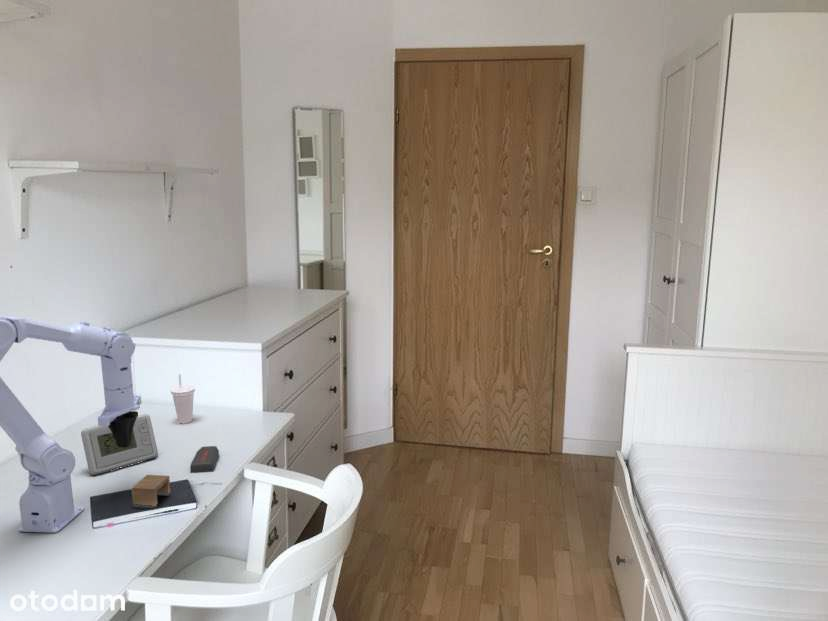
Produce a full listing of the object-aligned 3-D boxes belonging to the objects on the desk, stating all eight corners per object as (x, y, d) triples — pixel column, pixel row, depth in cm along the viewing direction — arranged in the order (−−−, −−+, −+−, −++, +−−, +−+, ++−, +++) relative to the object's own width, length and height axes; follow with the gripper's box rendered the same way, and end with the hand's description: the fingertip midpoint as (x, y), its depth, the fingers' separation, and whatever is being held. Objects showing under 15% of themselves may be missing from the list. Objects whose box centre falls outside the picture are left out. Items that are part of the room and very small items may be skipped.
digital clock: (87, 478, 150) (82, 434, 148) (83, 465, 158) (78, 423, 156) (161, 462, 159) (158, 420, 157) (154, 450, 166) (150, 410, 164)
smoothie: (173, 419, 188) (170, 372, 186) (197, 416, 190) (193, 370, 188) (172, 426, 182) (168, 378, 180) (197, 424, 184) (193, 376, 182)
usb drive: (190, 474, 153) (189, 463, 152) (199, 454, 164) (199, 443, 164) (213, 473, 153) (212, 462, 153) (221, 452, 165) (220, 442, 164)
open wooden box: (154, 489, 135) (169, 475, 141) (131, 488, 135) (147, 474, 142) (156, 508, 136) (170, 494, 142) (133, 507, 136) (148, 493, 142)
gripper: (118, 397, 133) (124, 460, 136) (152, 376, 147) (157, 434, 150) (85, 396, 134) (92, 459, 136) (121, 376, 148) (127, 433, 150)
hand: (124, 446), depth 143 cm, fingers closed
